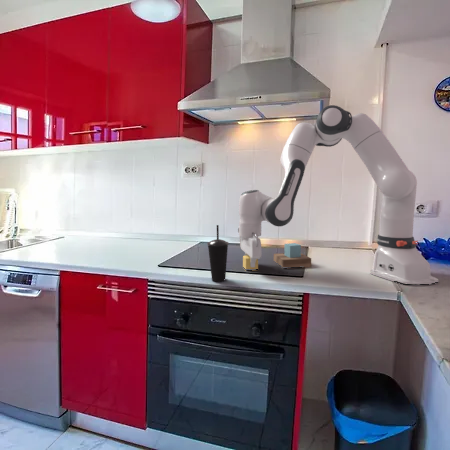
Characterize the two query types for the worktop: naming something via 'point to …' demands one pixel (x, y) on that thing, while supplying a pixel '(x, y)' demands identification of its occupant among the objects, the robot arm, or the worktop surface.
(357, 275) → the worktop surface
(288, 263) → the walnut base
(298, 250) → the teal cube
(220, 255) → the drinking cup
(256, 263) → the mustard cube
